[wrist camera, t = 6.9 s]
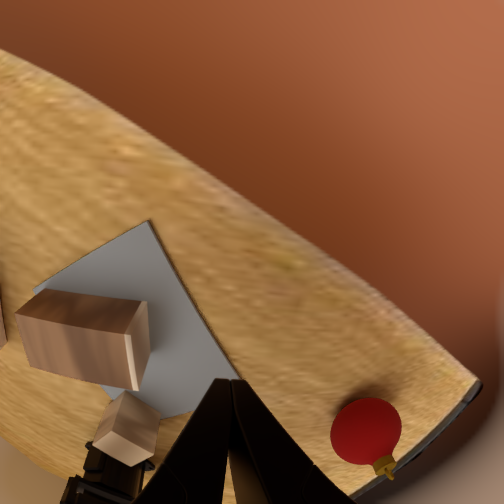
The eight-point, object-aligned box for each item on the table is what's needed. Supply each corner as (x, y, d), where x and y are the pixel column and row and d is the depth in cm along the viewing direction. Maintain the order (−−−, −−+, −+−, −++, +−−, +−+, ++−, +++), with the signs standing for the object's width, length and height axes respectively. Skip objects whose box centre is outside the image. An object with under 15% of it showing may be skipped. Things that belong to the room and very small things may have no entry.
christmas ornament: (391, 401, 26) (433, 463, 16) (339, 436, 27) (369, 503, 17) (369, 372, 24) (419, 446, 14) (309, 413, 25) (339, 494, 15)
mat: (248, 389, 23) (248, 392, 22) (138, 422, 23) (137, 425, 23) (148, 220, 18) (146, 221, 18) (35, 287, 18) (32, 289, 18)
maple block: (161, 413, 22) (154, 454, 17) (139, 428, 23) (130, 466, 18) (125, 389, 21) (111, 430, 16) (105, 407, 22) (92, 445, 17)
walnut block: (130, 335, 15) (14, 313, 14) (138, 391, 16) (30, 366, 15) (147, 301, 19) (44, 288, 18) (150, 352, 20) (54, 336, 19)
